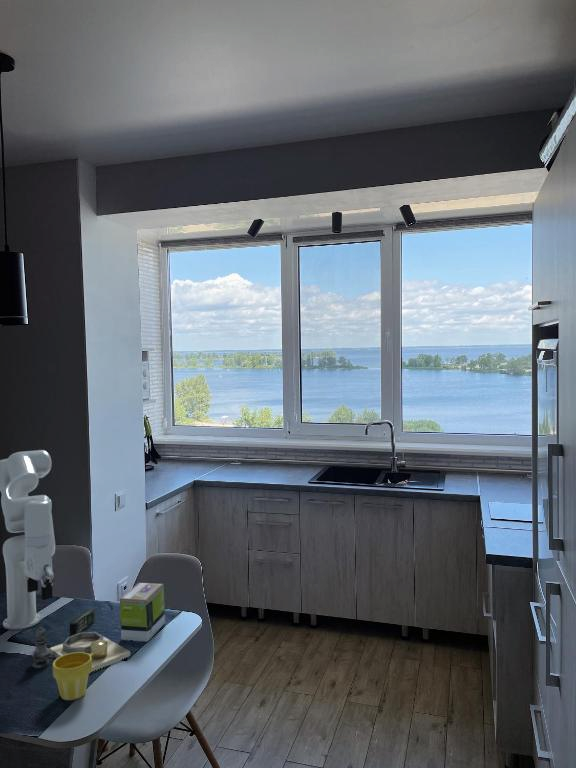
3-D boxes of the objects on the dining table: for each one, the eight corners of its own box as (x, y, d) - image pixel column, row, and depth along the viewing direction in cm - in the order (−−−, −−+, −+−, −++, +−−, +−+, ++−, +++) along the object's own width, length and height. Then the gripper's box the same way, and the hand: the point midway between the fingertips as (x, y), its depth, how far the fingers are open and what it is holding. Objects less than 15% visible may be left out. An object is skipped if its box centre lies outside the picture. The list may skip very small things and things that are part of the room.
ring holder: (57, 646, 194) (57, 640, 194) (90, 634, 203) (90, 628, 203) (75, 658, 186) (75, 651, 186) (108, 645, 195) (108, 639, 195)
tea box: (139, 621, 216) (139, 581, 216) (165, 623, 214) (165, 583, 214) (120, 640, 202) (119, 597, 201) (147, 642, 200) (146, 599, 199)
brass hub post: (87, 656, 188) (87, 643, 188) (102, 650, 191) (102, 638, 191) (96, 661, 184) (95, 648, 184) (110, 655, 188) (110, 642, 188)
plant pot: (64, 683, 174) (63, 650, 174) (98, 685, 173) (97, 651, 173) (46, 703, 164) (45, 668, 164) (82, 705, 163) (81, 670, 163)
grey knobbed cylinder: (44, 669, 183) (43, 630, 183) (27, 667, 184) (26, 629, 184) (55, 659, 189) (54, 622, 188) (38, 658, 190) (37, 621, 190)
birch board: (49, 652, 194) (49, 648, 193) (94, 635, 205) (94, 631, 205) (83, 675, 179) (83, 670, 179) (130, 656, 190) (130, 651, 190)
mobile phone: (75, 623, 205) (98, 605, 219) (67, 622, 205) (91, 604, 220) (75, 637, 205) (99, 618, 219) (68, 637, 206) (91, 617, 220)
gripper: (14, 538, 188) (15, 591, 189) (38, 548, 177) (40, 605, 177) (37, 533, 194) (39, 585, 194) (63, 542, 182) (64, 598, 183)
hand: (39, 595), depth 186 cm, fingers open, 9 cm apart
